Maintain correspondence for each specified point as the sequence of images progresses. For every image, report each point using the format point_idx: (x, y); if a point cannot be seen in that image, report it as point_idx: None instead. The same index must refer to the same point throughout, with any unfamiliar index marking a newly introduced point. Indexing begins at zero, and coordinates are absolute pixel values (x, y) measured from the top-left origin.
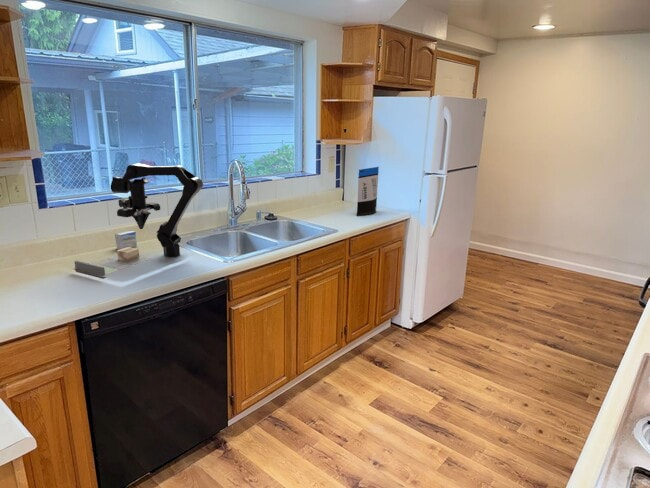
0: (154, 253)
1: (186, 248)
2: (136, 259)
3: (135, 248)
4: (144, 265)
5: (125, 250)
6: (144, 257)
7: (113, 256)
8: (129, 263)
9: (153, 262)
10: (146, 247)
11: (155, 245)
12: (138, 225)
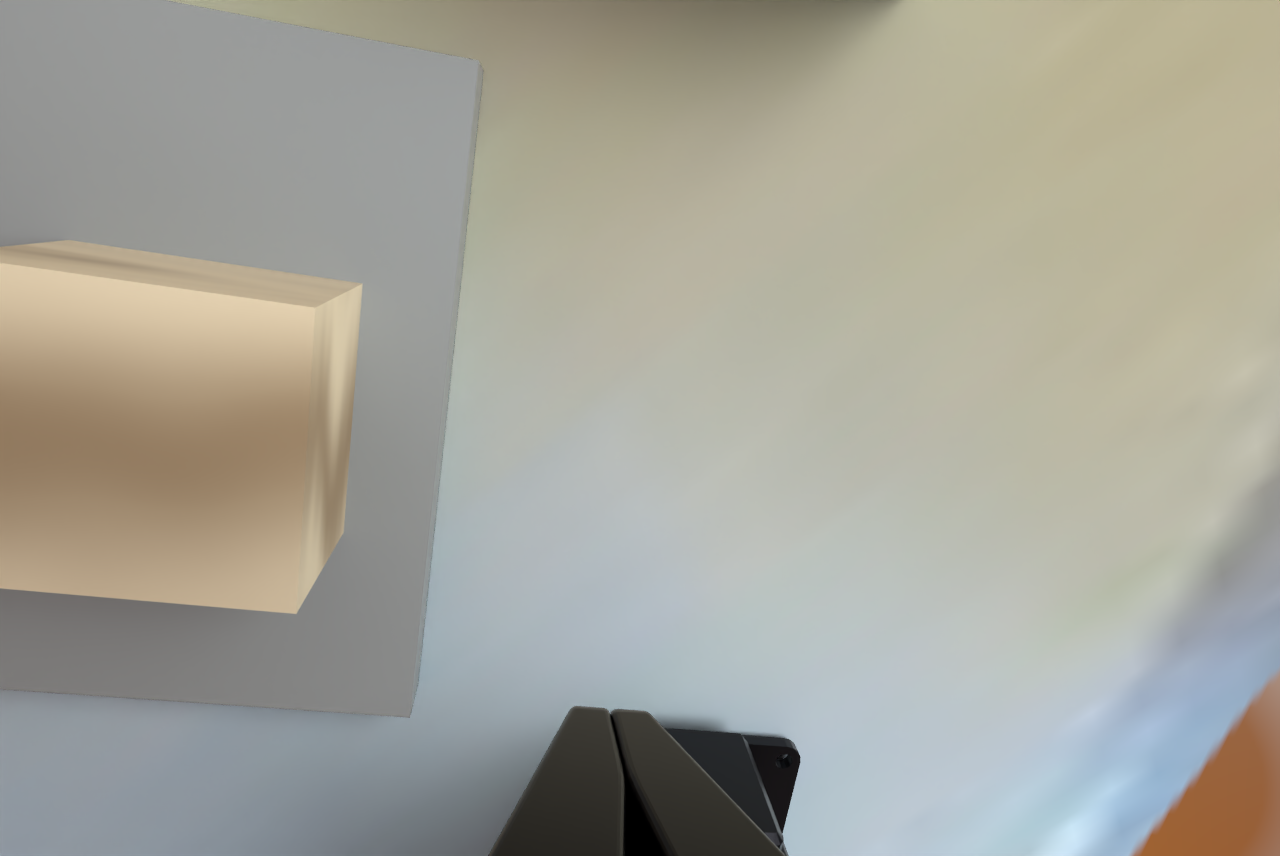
0: (790, 449)
1: (1141, 704)
2: None
3: (292, 533)
4: None
5: (54, 442)
6: (399, 591)
7: (161, 2)
8: (12, 595)
9: (404, 721)
10: (1064, 77)
11: (1209, 154)
12: (522, 814)
